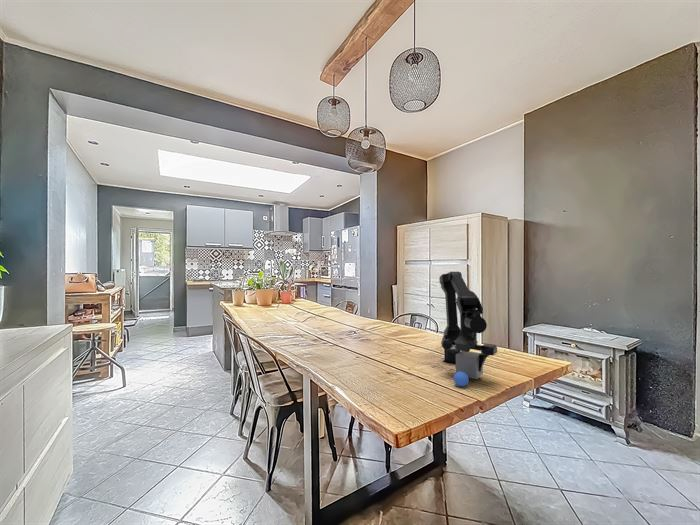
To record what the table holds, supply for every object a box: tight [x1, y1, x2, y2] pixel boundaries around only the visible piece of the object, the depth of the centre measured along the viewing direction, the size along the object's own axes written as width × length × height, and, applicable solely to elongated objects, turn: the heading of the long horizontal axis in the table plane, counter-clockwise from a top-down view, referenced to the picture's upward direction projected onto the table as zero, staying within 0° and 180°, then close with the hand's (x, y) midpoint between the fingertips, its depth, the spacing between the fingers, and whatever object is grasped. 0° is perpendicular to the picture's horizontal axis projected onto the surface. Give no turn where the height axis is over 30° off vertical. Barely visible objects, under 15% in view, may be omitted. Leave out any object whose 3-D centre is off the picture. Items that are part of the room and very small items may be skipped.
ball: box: [453, 371, 470, 387], centre depth 107 cm, size 5×5×5 cm
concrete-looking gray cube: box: [455, 351, 484, 380], centre depth 114 cm, size 8×8×8 cm
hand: (469, 369), depth 114 cm, fingers closed on concrete-looking gray cube, 7 cm apart
